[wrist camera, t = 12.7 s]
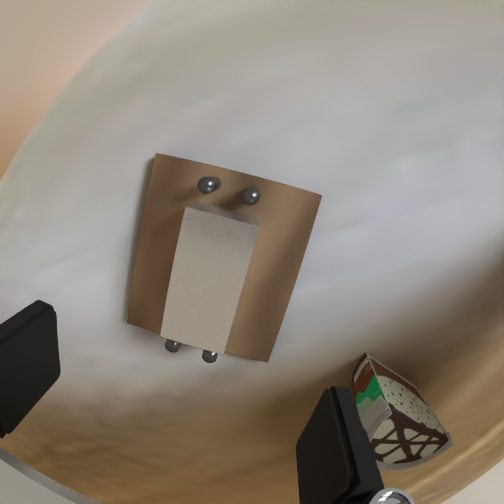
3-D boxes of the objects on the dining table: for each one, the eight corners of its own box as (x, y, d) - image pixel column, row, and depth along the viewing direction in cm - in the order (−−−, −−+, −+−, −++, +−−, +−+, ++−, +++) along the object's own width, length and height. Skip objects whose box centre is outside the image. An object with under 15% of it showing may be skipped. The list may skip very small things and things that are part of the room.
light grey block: (260, 216, 25) (259, 226, 20) (229, 324, 27) (223, 354, 23) (200, 200, 25) (185, 206, 20) (176, 309, 27) (160, 336, 22)
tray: (319, 194, 26) (321, 195, 24) (267, 355, 29) (267, 362, 28) (160, 153, 25) (156, 153, 24) (131, 317, 29) (127, 322, 28)
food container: (316, 386, 30) (331, 456, 21) (356, 346, 29) (387, 411, 19) (386, 423, 32) (410, 481, 22) (422, 390, 30) (455, 445, 21)
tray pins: (261, 188, 24) (261, 190, 21) (220, 343, 28) (214, 364, 25) (208, 174, 24) (199, 174, 21) (174, 330, 28) (164, 349, 24)
